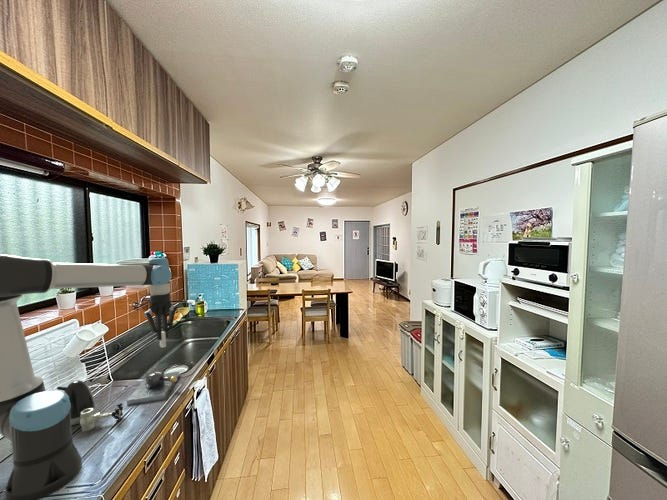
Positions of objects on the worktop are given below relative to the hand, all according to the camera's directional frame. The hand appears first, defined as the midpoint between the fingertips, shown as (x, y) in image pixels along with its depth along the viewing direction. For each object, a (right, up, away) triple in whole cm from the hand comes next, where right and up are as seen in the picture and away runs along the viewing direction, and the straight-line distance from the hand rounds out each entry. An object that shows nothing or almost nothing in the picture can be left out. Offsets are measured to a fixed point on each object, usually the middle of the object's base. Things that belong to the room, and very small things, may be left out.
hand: (162, 346), depth 125 cm
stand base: (-6, -21, +4) cm, 22 cm away
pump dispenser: (-22, -22, -18) cm, 36 cm away
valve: (-10, -22, -21) cm, 32 cm away
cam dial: (-2, -18, +3) cm, 19 cm away
